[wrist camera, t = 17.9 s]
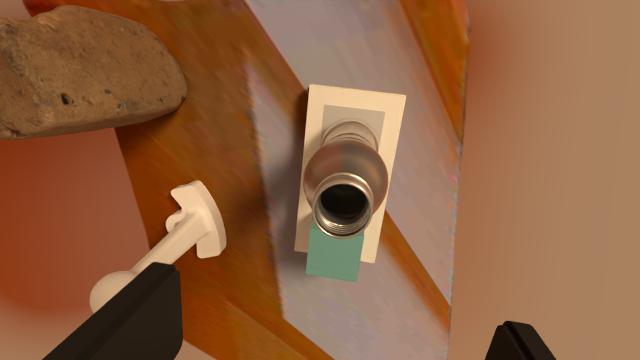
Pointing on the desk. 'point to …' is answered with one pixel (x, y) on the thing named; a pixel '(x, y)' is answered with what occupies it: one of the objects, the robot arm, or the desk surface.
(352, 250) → the cube
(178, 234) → the joystick
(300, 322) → the desk surface
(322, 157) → the plastic bottle
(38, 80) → the block
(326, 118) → the board
